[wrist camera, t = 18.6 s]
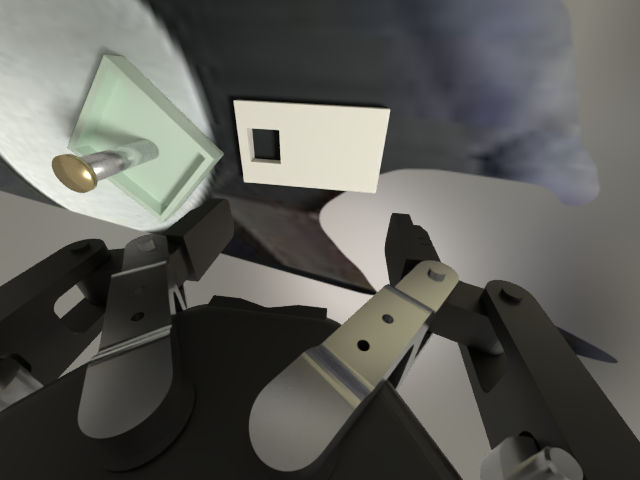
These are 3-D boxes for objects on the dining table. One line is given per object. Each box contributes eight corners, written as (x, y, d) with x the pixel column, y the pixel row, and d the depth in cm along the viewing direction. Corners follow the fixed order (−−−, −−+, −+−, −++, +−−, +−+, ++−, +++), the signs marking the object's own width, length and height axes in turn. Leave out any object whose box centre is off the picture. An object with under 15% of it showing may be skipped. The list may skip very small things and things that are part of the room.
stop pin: (131, 148, 42) (47, 173, 30) (142, 128, 40) (57, 147, 28) (156, 168, 43) (85, 199, 32) (167, 150, 41) (96, 176, 30)
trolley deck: (248, 178, 43) (244, 181, 41) (239, 99, 37) (233, 100, 35) (374, 188, 41) (375, 193, 40) (388, 108, 35) (390, 109, 33)
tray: (86, 143, 43) (67, 147, 41) (124, 56, 35) (104, 54, 33) (174, 214, 49) (162, 222, 46) (224, 153, 41) (214, 159, 38)
